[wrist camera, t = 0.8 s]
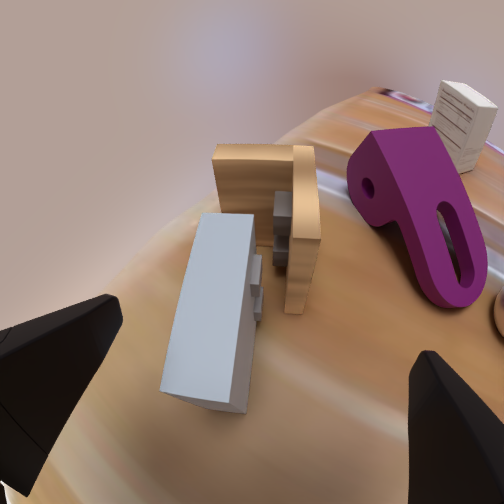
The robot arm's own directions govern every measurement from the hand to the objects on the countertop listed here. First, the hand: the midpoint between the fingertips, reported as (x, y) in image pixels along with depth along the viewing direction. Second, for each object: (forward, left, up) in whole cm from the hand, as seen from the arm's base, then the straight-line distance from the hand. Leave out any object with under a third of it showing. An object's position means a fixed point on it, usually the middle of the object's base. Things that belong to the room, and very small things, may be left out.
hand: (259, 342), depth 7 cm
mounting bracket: (+20, -9, -15) cm, 27 cm away
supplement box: (+40, -14, -15) cm, 45 cm away
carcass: (+10, +5, -15) cm, 19 cm away
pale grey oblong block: (+2, +4, -15) cm, 15 cm away
